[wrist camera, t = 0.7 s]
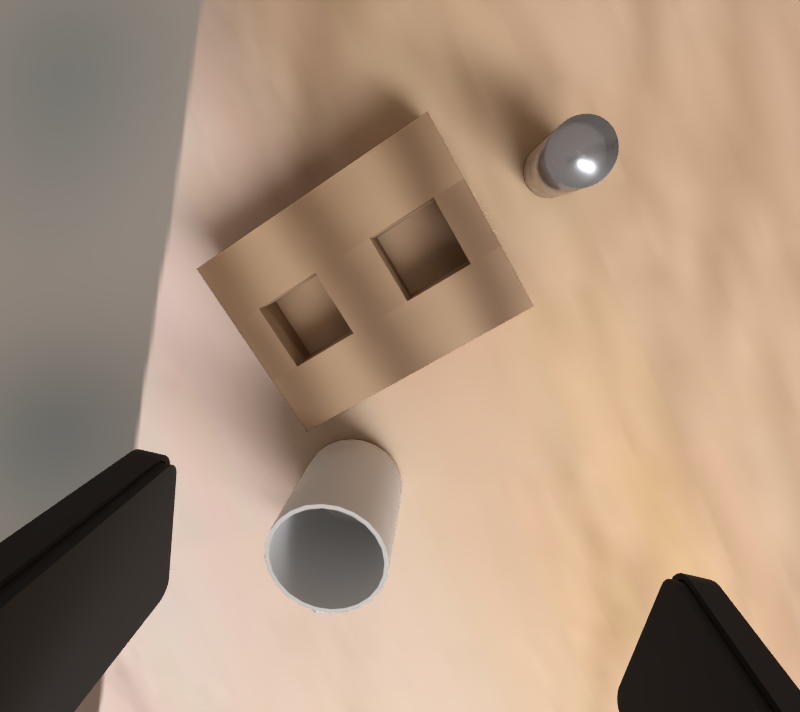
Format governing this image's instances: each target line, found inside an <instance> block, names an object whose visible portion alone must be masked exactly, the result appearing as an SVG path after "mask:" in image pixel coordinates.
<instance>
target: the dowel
mask: <svg viewBox="0 0 800 712" xmlns="http://www.w3.org/2000/svg"><path fill="white" fill-rule="evenodd" d="M617 155H618V138H617V135H616V132H615V130H614V129H613V127H612V126H611V124H610V123H609V122H608V121H606V120H605V119H604V118H602V117H600V116H597V115H593V114H580V115H576V116H574V117H571V118H569V119H568V120H566V121H565V122H563V123H562V124H561V125H560V126H559V127H558V128H557V129H556V130H555V131H554V132H552V133H551V134H550V135H549V136H548V137H547V138H546V139H545V140H544V141H543V142H542V143H541V144H540V145H539V146H537V147H536V148H535V149H534V150H533V151H532V152H531V153H530V155H529V156H528V158H527V160H526V163H525V166H524V179H525V182H526V185H527V186H528V188H529V189H530V191H532V192H533V193H534V194H535V195H537V196H539V197H543V198H554V197H557V196H560V195H564V194H567V193H570V192H573V191H576V190H579V189H582V188H585V187H588V186H591V185H594V184H596V183H598V182H599V181H601V180H602V179H603V178H604V177H606V176H607V174H608V173H609V172H610V171H611V169H612V168H613V166H614V164H615V162H616V159H617Z"/></svg>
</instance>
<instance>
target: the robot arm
mask: <svg viewBox="0 0 800 712" xmlns="http://www.w3.org/2000/svg"><path fill="white" fill-rule="evenodd" d="M175 486H176V468H175V466H174V465H170V461H169V458H168V457H167V456H166V455H161V454H157V453H153V452H148V451H144V450H139V449H135V450H133V451H131V452H130V453H128V454H127V455H126V456H124V457H123V458H121V459H120V460H119V461H117V462H115V463H114V464H113V465H112V466H110V467H108V468H107V469H105V470H104V471H103V472H101V473H100V474H98V475H97V476H95V477H94V478H92V479H91V480H90V481H88V482H87V483H85V484H84V485H83V486H81V487H80V488H78V489H77V490H75V491H74V492H72V493H71V494H70V495H68V496H67V497H65V498H64V499H62V500H61V501H59V502H58V503H57V504H55V505H54V506H52V507H51V508H50V509H48V510H47V511H45V512H44V513H42V514H41V515H39V516H38V517H36V518H35V519H34V520H32V521H31V522H29V523H28V524H26V525H25V526H24V527H22V528H21V529H19V530H18V531H16V532H15V533H13V534H12V535H11V536H9V537H8V538H6V539H5V540H3V541H2V542H1V543H0V712H74V711H75V710H76V708H77V707H78V706H79V705H80V703H81V702H82V701H83V700H84V698H85V697H86V696H87V694H88V693H89V692H90V691H91V689H92V688H93V687H94V685H95V684H96V683H97V682H98V680H99V679H100V678H101V676H102V675H103V674H104V673H105V671H106V670H107V669H108V667H109V666H110V665H111V664H112V662H113V661H114V660H115V658H116V657H117V656H118V655H119V653H120V652H121V651H122V649H123V648H124V647H125V646H126V644H127V643H128V642H129V640H130V639H131V638H132V637H133V635H134V634H135V633H136V631H137V630H138V629H139V628H140V626H141V625H142V624H143V622H144V621H145V620H146V618H147V617H148V616H149V615H150V613H151V612H152V611H153V609H154V608H155V607H156V606H157V604H158V603H159V602H160V600H161V599H162V597H163V595H164V593H165V591H166V588H167V585H168V581H169V569H170V555H171V541H172V528H173V514H174V500H175ZM617 700H618V709H619V712H800V690H799V689H798V687H797V686H796V685H795V683H794V682H793V681H792V680H791V678H790V677H789V676H788V674H787V673H786V672H785V670H784V669H783V668H782V667H781V665H780V664H779V663H778V661H777V660H776V659H775V657H774V656H773V655H772V654H771V652H770V651H769V650H768V648H767V647H766V646H765V645H764V643H763V642H762V641H761V639H760V638H759V637H758V635H757V634H756V633H755V632H754V630H753V629H752V628H751V626H750V625H749V624H748V622H747V621H746V620H745V619H744V617H743V616H742V615H741V613H740V612H739V611H738V609H737V608H736V607H735V606H734V604H733V603H732V602H731V600H730V599H729V598H728V596H727V595H726V594H725V593H724V591H723V590H722V589H721V587H720V586H719V585H718V584H717V583H716V582H714V581H712V580H709V579H705V578H700V577H696V576H691V575H687V574H683V573H679V574H676V575H675V576H673V578H672V579H666V580H665V581H664V582H663V584H662V586H661V588H660V590H659V593H658V595H657V598H656V600H655V602H654V605H653V607H652V609H651V612H650V614H649V617H648V619H647V621H646V624H645V626H644V629H643V631H642V633H641V636H640V638H639V641H638V643H637V645H636V648H635V650H634V653H633V655H632V657H631V660H630V662H629V665H628V667H627V669H626V672H625V674H624V676H623V679H622V681H621V684H620V686H619V689H618V696H617Z"/></svg>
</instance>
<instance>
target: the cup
mask: <svg viewBox="0 0 800 712" xmlns="http://www.w3.org/2000/svg"><path fill="white" fill-rule="evenodd" d="M401 491H402V482H401V476H400V472H399V470H398V468H397V466H396V464H395V462H394V461H393V460H392V459H391V457H390V456H389V455H388V454H387V453H386V452H385V451H383V450H382V449H380V448H379V447H378V446H376V445H374V444H371V443H369V442H366V441H362V440H354V439H348V440H339V441H337V442H334V443H331V444H329V445H327V446H326V447H324V448H323V449H322V450H320V451H319V452H318V453H317V455H316V456H315V457H314V459H313V460H312V461H311V463H310V464H309V465H308V467H307V469H306V470H305V472H304V474H303V475H302V477H301V479H300V481H299V482H298V484H297V486H296V487H295V489H294V491H293V492H292V494H291V496H290V497H289V499H288V501H287V503H286V504H285V506H284V508H283V509H282V511H281V513H280V514H279V516H278V518H277V520H276V521H275V523H274V525H273V526H272V528H271V530H270V532H269V535H268V537H267V540H266V543H265V561H266V564H267V568H268V572H269V574H270V575H271V577H272V579H273V581H274V582H275V584H276V585H277V586H278V587H279V588H280V590H281V591H282V592H283V593H284V594H285V595H286V596H287V597H289V598H291V599H292V600H294V601H295V602H297V603H298V604H300V605H302V606H305V607H307V608H310V609H312V610H313V611H314V612H315V613H316V614H319V613H324V612H328V613H337V612H347V611H351V610H354V609H357V608H360V607H362V606H364V605H365V604H367V603H368V602H370V601H372V600H373V599H374V598H375V597H376V595H377V594H378V593H379V592H380V591H381V590H382V588H383V586H384V584H385V581H386V579H387V577H388V571H389V565H390V559H391V553H392V548H393V542H394V536H395V530H396V524H397V518H398V512H399V506H400V500H401Z"/></svg>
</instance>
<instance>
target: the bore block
mask: <svg viewBox="0 0 800 712" xmlns="http://www.w3.org/2000/svg"><path fill="white" fill-rule="evenodd" d="M197 270H198V271H199V273H200V274H201V276H202V277H203V279H204V280H205V282H206V283H207V285H208V286H209V288H210V289H211V291H212V292H213V294H214V295H215V297H216V298H217V299H218V301H219V302H220V304H221V305H222V307H223V308H224V310H225V311H226V313H227V314H228V316H229V317H230V319H231V320H232V322H233V323H234V325H235V326H236V328H237V329H238V330H239V332H240V333H241V335H242V336H243V338H244V339H245V341H246V342H247V344H248V345H249V347H250V348H251V350H252V351H253V353H254V354H255V356H256V357H257V359H258V360H259V361H260V363H261V364H262V366H263V367H264V369H265V370H266V372H267V373H268V375H269V376H270V378H271V379H272V381H273V382H274V384H275V385H276V387H277V388H278V389H279V391H280V392H281V394H282V395H283V397H284V398H285V400H286V401H287V403H288V404H289V406H290V407H291V409H292V410H293V412H294V413H295V415H296V416H297V418H298V419H299V420H300V422H301V423H302V425H303V426H304V428H305V429H306V431H309V430H311V429H312V428H314V427H316V426H318V425H320V424H321V423H323V422H325V421H327V420H329V419H331V418H332V417H334V416H336V415H338V414H340V413H341V412H343V411H345V410H347V409H349V408H350V407H352V406H354V405H356V404H358V403H359V402H361V401H363V400H365V399H367V398H368V397H370V396H372V395H374V394H376V393H378V392H379V391H381V390H383V389H385V388H387V387H388V386H390V385H392V384H394V383H396V382H397V381H399V380H401V379H403V378H405V377H406V376H408V375H410V374H412V373H414V372H415V371H417V370H419V369H421V368H423V367H425V366H426V365H428V364H430V363H432V362H434V361H435V360H437V359H439V358H441V357H443V356H444V355H446V354H448V353H450V352H452V351H453V350H455V349H457V348H459V347H461V346H463V345H464V344H466V343H468V342H470V341H472V340H473V339H475V338H477V337H479V336H481V335H482V334H484V333H486V332H488V331H490V330H491V329H493V328H495V327H497V326H499V325H500V324H502V323H504V322H506V321H508V320H510V319H511V318H513V317H515V316H517V315H519V314H520V313H522V312H524V311H526V310H528V309H529V308H531V307H533V304H532V302H531V300H530V298H529V296H528V295H527V293H526V291H525V289H524V287H523V286H522V284H521V282H520V280H519V278H518V276H517V275H516V273H515V271H514V269H513V267H512V265H511V264H510V262H509V260H508V258H507V256H506V254H505V253H504V251H503V249H502V247H501V245H500V243H499V242H498V240H497V238H496V236H495V234H494V232H493V231H492V229H491V227H490V225H489V223H488V221H487V220H486V218H485V216H484V214H483V212H482V210H481V209H480V207H479V205H478V203H477V201H476V199H475V198H474V196H473V194H472V192H471V190H470V188H469V187H468V185H467V183H466V181H465V179H464V177H463V176H462V174H461V172H460V170H459V168H458V166H457V165H456V163H455V161H454V159H453V157H452V155H451V154H450V152H449V150H448V148H447V146H446V144H445V143H444V141H443V139H442V137H441V135H440V133H439V132H438V130H437V128H436V126H435V124H434V123H433V121H432V119H431V117H430V115H429V113H428V112H426V113H424V114H423V115H421V116H420V117H418V118H417V119H415V120H414V121H412V122H411V123H409V124H408V125H406V126H405V127H404V128H402V129H401V130H399V131H398V132H396V133H395V134H393V135H392V136H390V137H389V138H387V139H386V140H385V141H383V142H382V143H380V144H379V145H377V146H376V147H374V148H373V149H371V150H370V151H368V152H367V153H366V154H364V155H363V156H361V157H360V158H358V159H357V160H355V161H354V162H352V163H351V164H349V165H348V166H347V167H345V168H344V169H342V170H341V171H339V172H338V173H336V174H335V175H333V176H332V177H330V178H329V179H328V180H326V181H325V182H323V183H322V184H320V185H319V186H317V187H316V188H314V189H313V190H311V191H310V192H308V193H307V194H306V195H304V196H303V197H301V198H300V199H298V200H297V201H295V202H294V203H292V204H291V205H289V206H288V207H287V208H285V209H284V210H282V211H281V212H279V213H278V214H276V215H275V216H273V217H272V218H270V219H269V220H268V221H266V222H265V223H263V224H262V225H260V226H259V227H257V228H256V229H254V230H253V231H251V232H250V233H249V234H247V235H246V236H244V237H243V238H241V239H240V240H238V241H237V242H235V243H234V244H232V245H231V246H230V247H228V248H227V249H225V250H224V251H222V252H221V253H219V254H218V255H216V256H215V257H213V258H212V259H210V260H209V261H208V262H206V263H205V264H203V265H202V266H200V267H199V268H197Z"/></svg>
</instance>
